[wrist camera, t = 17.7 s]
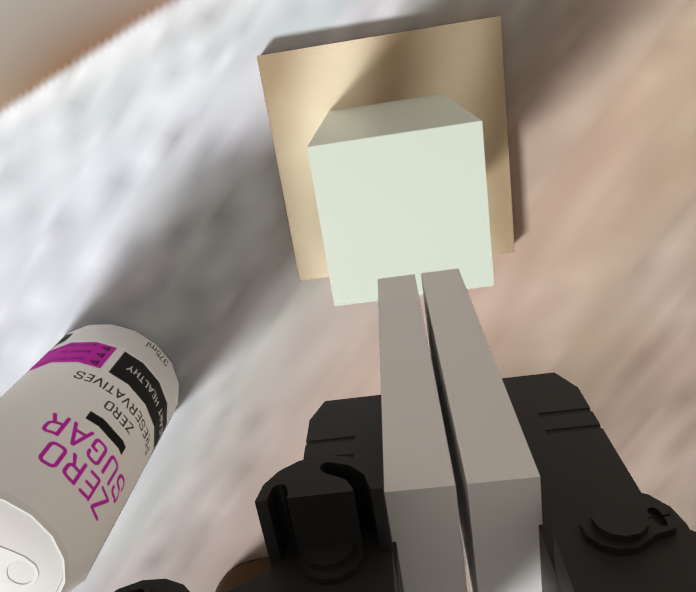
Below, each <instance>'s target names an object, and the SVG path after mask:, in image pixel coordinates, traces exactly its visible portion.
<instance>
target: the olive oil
mask: <svg viewBox="0 0 696 592" xmlns="http://www.w3.org/2000/svg"><path fill="white" fill-rule="evenodd" d="M269 567H270V559H269V558H265V559H258V560H254V561H250V562H247V563H244V564H242V565H240V566H238V567H236V568H235V569H233V570H232V571H230V572H229V573H228V574H227V575H226V576H225V577H224V578H223V579H222V580H221V582H220V583H219V585H218V587H217V589H216V591H215V592H225V591H228V590H231V589H233V588H236V587H238V586H240V585H242V584H244V583H247V582H249V581H251V580H253V579H254V578H256V577H257V576H259V575H260V574H261V573H263V572H264V571H266V570H267V569H268V568H269Z"/></svg>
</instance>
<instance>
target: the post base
mask: <svg viewBox="0 0 696 592" xmlns="http://www.w3.org/2000/svg"><path fill="white" fill-rule="evenodd" d="M257 60H258V65H259V70H260V76H261V81H262V86H263V91H264V96H265V102H266V107H267V112H268V117H269V122H270V128H271V133H272V138H273V143H274V148H275V154H276V159H277V164H278V169H279V174H280V180H281V185H282V190H283V195H284V200H285V206H286V211H287V216H288V221H289V226H290V232H291V237H292V242H293V247H294V252H295V258H296V263H297V268H298V273H299V278H300V281H301V280H308V279H316V278H323V277H329V271H328V266H327V260H326V254H325V248H324V243H323V237H322V231H321V225H320V219H319V214H318V208H317V202H316V196H315V191H314V185H313V179H312V173H311V168H310V162H309V156H308V150H307V146H308V145H309V143H310V141H311V140H312V138H313V136H314V135H315V133H316V131H317V130H318V128H319V127H320V125H321V123H322V122H323V120H324V118H325V117H326V115H327V113H328V112H329V111H333V110H339V109H346V108H352V107H359V106H365V105H372V104H378V103H384V102H391V101H397V100H404V99H410V98H417V97H423V96H430V95H436V94H442V93H443V94H444V95H446V96H447V97H449V98H450V99H452V100H453V101H454V102H456V103H457V104H459V105H460V106H462V107H463V108H465V109H466V110H467V111H469V112H470V113H472V114H473V115H475V116H476V117H478V118H479V119H480V120H482V125H483V139H484V153H485V167H486V181H487V195H488V209H489V223H490V237H491V251H492V255H497V254H504V253H512V252H515V250H514V232H513V215H512V198H511V181H510V164H509V146H508V129H507V112H506V95H505V78H504V60H503V43H502V26H501V16H496V17H490V18H484V19H478V20H472V21H465V22H459V23H453V24H447V25H441V26H435V27H429V28H423V29H417V30H411V31H405V32H399V33H393V34H387V35H381V36H375V37H368V38H362V39H356V40H350V41H344V42H338V43H332V44H326V45H320V46H314V47H308V48H302V49H296V50H290V51H284V52H278V53H271V54H265V55H259V56H257Z"/></svg>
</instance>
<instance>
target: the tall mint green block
mask: <svg viewBox="0 0 696 592" xmlns="http://www.w3.org/2000/svg"><path fill="white" fill-rule="evenodd" d="M307 150H308V156H309V162H310V168H311V173H312V179H313V185H314V191H315V196H316V202H317V208H318V214H319V219H320V225H321V231H322V237H323V243H324V248H325V254H326V260H327V266H328V271H329V277H330V283H331V289H332V295H333V300H334V306H340V305H347V304H355V303H363V302H371V301H378V279H381V278H388V277H396V276H404V275H411V274H415V278H416V283H417V288H418V293H419V295H423V287H422V279H421V273H426V272H434V271H442V270H449V269H457V268H459V271H460V273H461V276H462V278H463V281H464V284H465V286H466V289H472V288H480V287H488V286H494V278H493V264H492V251H491V237H490V223H489V209H488V195H487V181H486V167H485V153H484V139H483V125H482V120H480V119H479V118H478V117H476V116H475V115H473V114H472V113H470V112H469V111H467V110H466V109H465V108H463V107H462V106H460V105H459V104H457V103H456V102H454V101H453V100H452V99H450V98H449V97H447V96H446V95H444V94H443V93H442V94H436V95H430V96H423V97H417V98H410V99H404V100H397V101H391V102H384V103H378V104H372V105H365V106H359V107H352V108H346V109H339V110H333V111H329V112H328V113H327V115H326V117H325V118H324V120H323V122H322V123H321V125H320V127H319V128H318V130H317V131H316V133H315V135H314V136H313V138H312V140H311V141H310V143H309V145H308V146H307Z"/></svg>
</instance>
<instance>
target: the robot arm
mask: <svg viewBox="0 0 696 592" xmlns="http://www.w3.org/2000/svg"><path fill="white" fill-rule="evenodd" d="M421 279H422V287H423V296H424V304H425V313H426V321H427V330H428V339H429V345H428V340H427V335H426V330H425V324H424V319H423V314H422V309H421V304H420V298H419V293H418V288H417V283H416V278H415V274H411V275H404V276H396V277H388V278H381V279H378V308H379V340H380V372H381V395H375V396H367V397H358V398H349V399H341V400H332V401H325V402H324V403H323V404H322V406H321V407H320V408H319V409H318V411H317V412H316V413H315V414H314V416H313V417H312V418H311V419H310V421H309V428H308V434H307V440H306V443H307V445H306V446H305V453H304V460H302V461H298V462H296V463H294V464H292V465H290V466H288V467H286V468H284V469H282V470H280V471H279V472H277V473H276V474H275V475H274V476H273V477H272V478H271V479H270V480H269V481H267V482H266V483H265V484H264V485H263V487H262V489H261V491H260V493H259V495H258V497H257V499H256V500H255V504H256V508H257V512H258V516H259V520H260V524H261V528H262V532H263V536H264V540H265V543H266V547H267V551H268V555H269V559H270V567H269V568H268V569H267V570H266V571H264V572H263V573H261V574H260V575H259V576H257V577H256V578H254V579H253V580H251V581H249V582H247V583H244V584H242V585H240V586H238V587H236V588H233V589H231V590H228V591H225V592H467V585H466V576H465V567H464V558H463V548H462V541H463V546H464V552H465V557H466V563H467V568H468V573H469V579H470V584H471V590H472V592H696V532H695V531H692V530H690V529H689V527H688V526H687V524H686V523H685V522H684V521H683V520H682V519H681V518H680V516H679V515H678V514H677V513H676V512H675V511H674V510H673V509H672V508H671V507H670V506H668V505H666V504H664V503H662V502H661V501H659V500H657V499H655V498H653V497H652V496H650V495H648V494H644V493H641V492H640V490H639V488H638V487H637V485H636V483H635V482H634V480H633V478H632V477H631V475H630V473H629V472H628V470H627V468H626V467H625V465H624V463H623V462H622V460H621V458H620V457H619V455H618V453H617V452H616V450H615V448H614V447H613V445H612V443H611V442H610V440H609V438H608V437H607V435H606V434H605V432H604V430H603V429H601V428H600V424H599V422H598V420H597V419H596V417H595V415H594V414H593V412H591V411H590V407H589V405H588V404H587V402H586V400H585V399H584V397H583V395H582V394H581V392H580V390H579V389H578V387H576V386H574V385H573V384H571V383H570V382H568V381H567V380H565V379H564V378H562V377H561V376H559V375H557V374H556V373H546V374H537V375H529V376H520V377H511V378H503V379H502V378H501V375H500V373H499V370H498V368H497V365H496V363H495V360H494V357H493V355H492V352H491V350H490V347H489V345H488V342H487V340H486V337H485V335H484V332H483V329H482V327H481V324H480V322H479V319H478V317H477V314H476V312H475V309H474V307H473V304H472V301H471V299H470V296H469V294H468V291H467V289H466V286H465V284H464V281H463V278H462V276H461V273H460V271H459V268H457V269H449V270H442V271H434V272H426V273H421ZM429 347H430V350H429ZM461 536H462V539H461ZM115 592H190V591H189V590H188V589H187V588H186V587H185V586H184V585H183V584H180V583H177V582H174V581H171V580H168V579H155V580H142V581H139V582H137V583H134V584H131V585H128V586H125V587H123V588H120V589H118V590H116V591H115Z"/></svg>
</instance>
